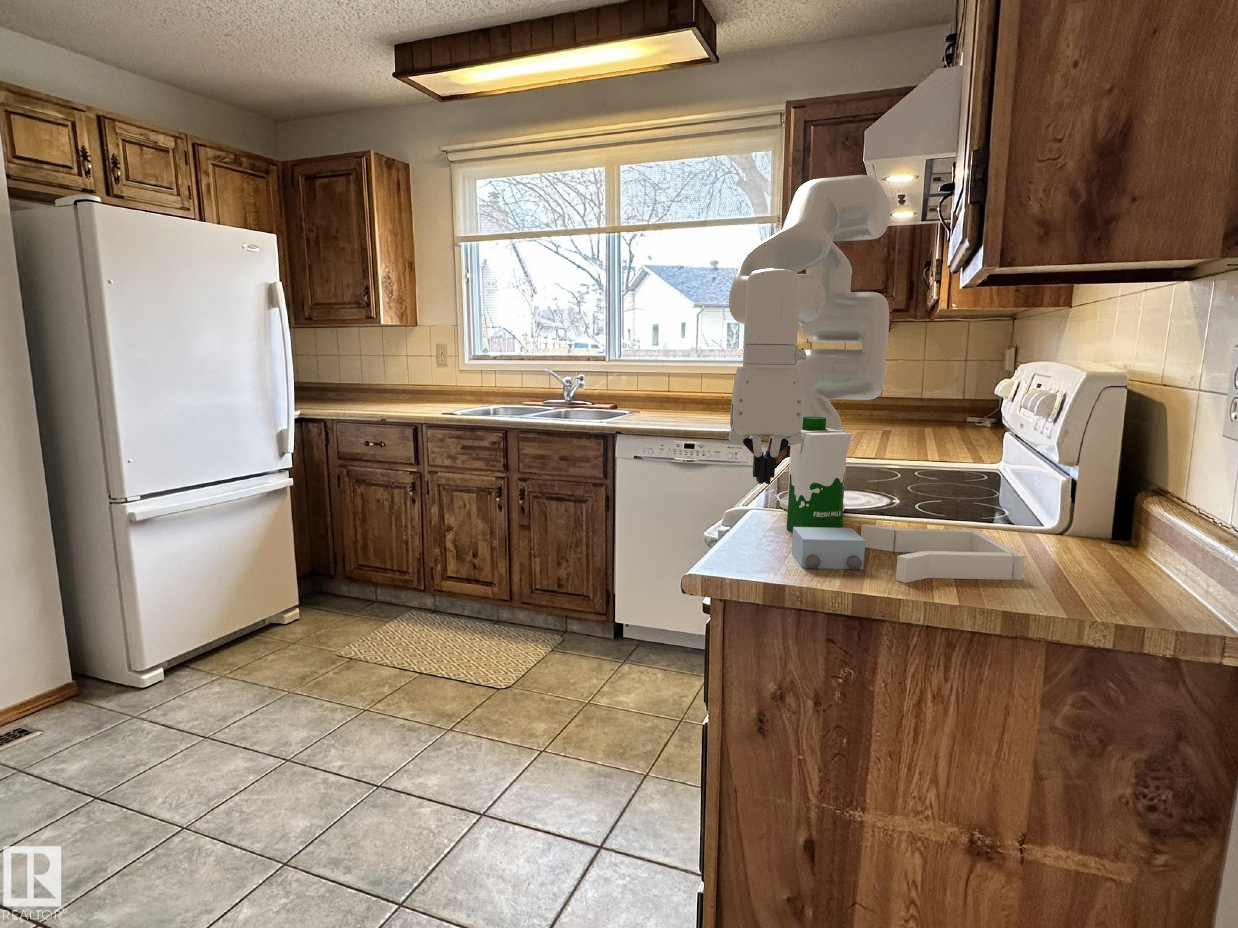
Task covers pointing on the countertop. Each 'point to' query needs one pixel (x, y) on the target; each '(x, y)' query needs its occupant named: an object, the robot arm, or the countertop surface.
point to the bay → (945, 553)
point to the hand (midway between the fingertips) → (763, 482)
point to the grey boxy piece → (828, 548)
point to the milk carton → (817, 476)
